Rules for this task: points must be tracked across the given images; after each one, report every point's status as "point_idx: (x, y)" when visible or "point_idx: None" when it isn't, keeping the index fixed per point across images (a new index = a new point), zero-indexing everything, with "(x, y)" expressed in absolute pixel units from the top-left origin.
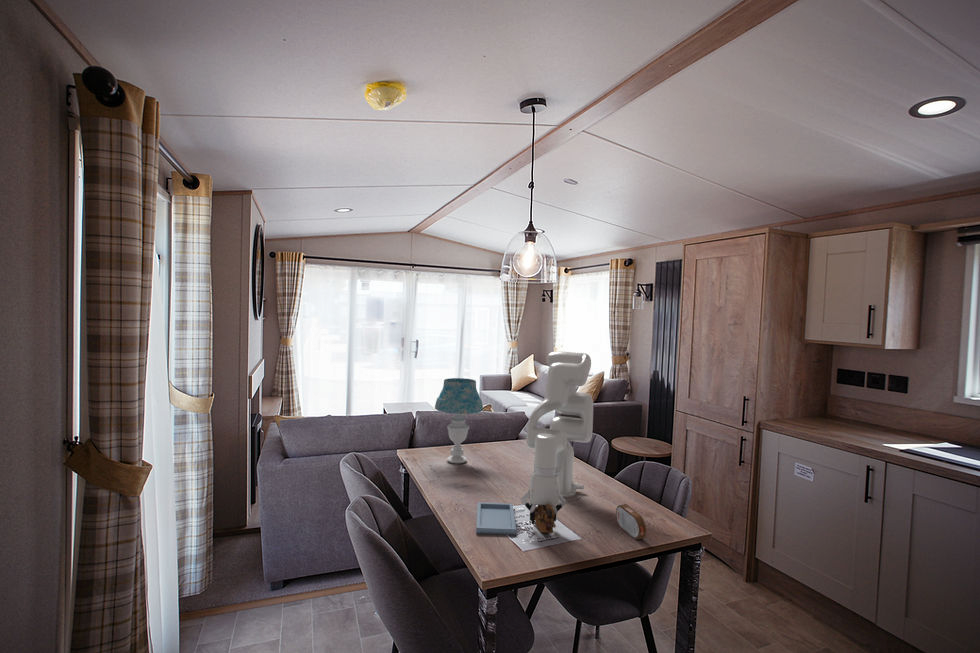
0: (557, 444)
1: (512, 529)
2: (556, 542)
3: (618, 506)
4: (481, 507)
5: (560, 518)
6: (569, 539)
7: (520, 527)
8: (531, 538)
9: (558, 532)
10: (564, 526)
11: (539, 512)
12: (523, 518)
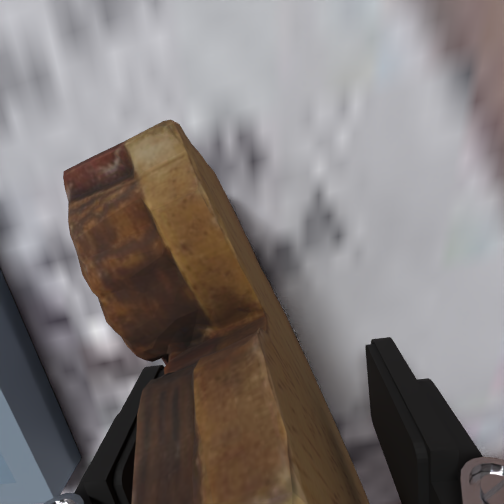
0: None
1: (30, 501)
2: (378, 494)
3: None
4: None
5: (492, 12)
6: (488, 444)
7: (80, 339)
8: None
9: (413, 358)
10: (497, 228)
11: None
12: (54, 143)
